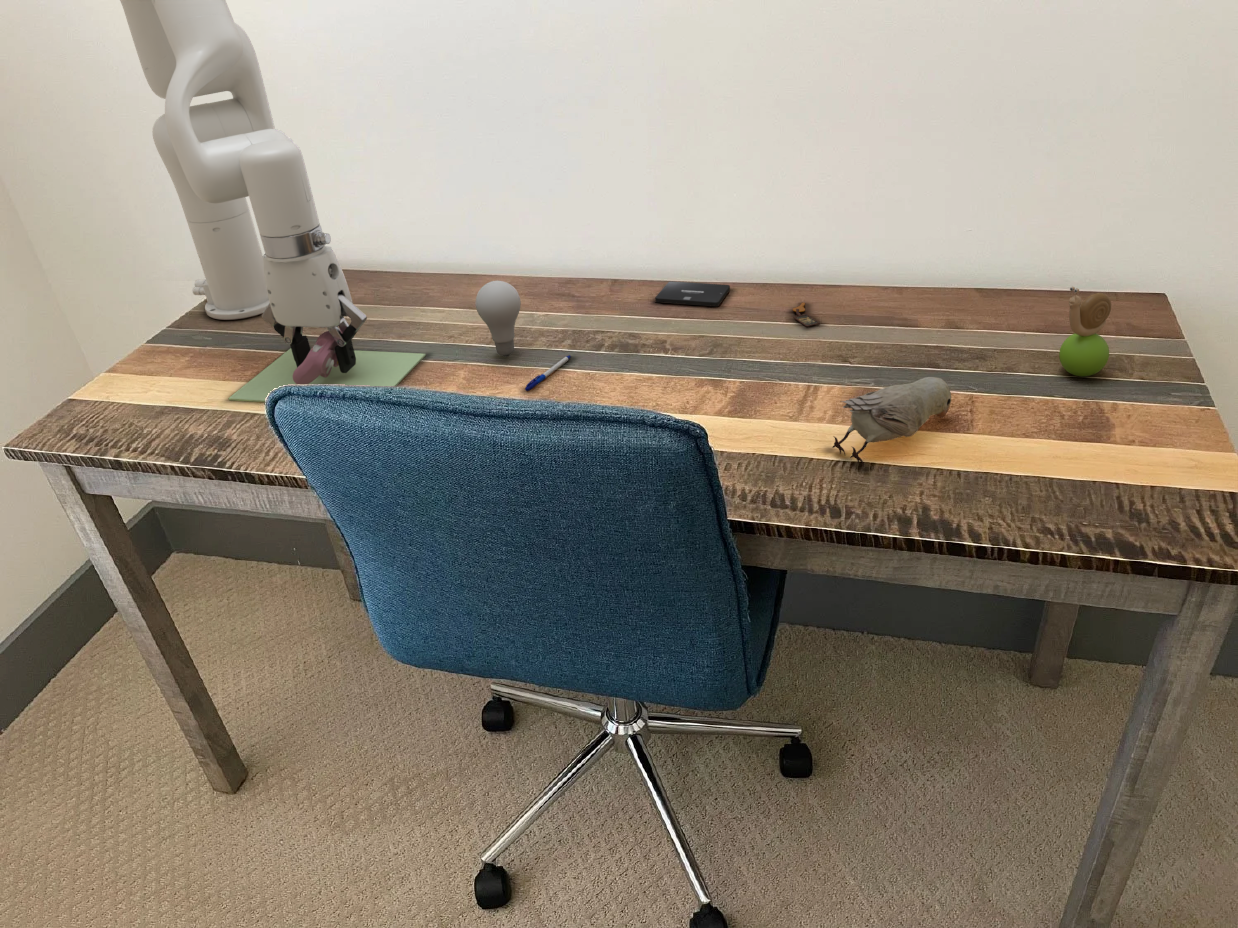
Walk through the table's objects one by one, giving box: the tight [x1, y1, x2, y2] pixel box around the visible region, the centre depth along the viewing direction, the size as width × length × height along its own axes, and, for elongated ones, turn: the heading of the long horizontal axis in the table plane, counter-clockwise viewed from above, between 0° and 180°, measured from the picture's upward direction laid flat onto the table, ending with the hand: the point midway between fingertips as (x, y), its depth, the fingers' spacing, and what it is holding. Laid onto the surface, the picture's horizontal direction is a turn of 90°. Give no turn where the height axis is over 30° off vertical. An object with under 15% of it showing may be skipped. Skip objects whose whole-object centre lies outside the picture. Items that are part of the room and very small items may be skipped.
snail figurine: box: [1058, 286, 1112, 378], centre depth 114 cm, size 5×6×12 cm
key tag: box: [792, 301, 821, 328], centre depth 138 cm, size 8×3×1 cm, turn 7°
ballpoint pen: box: [524, 354, 572, 392], centre depth 129 cm, size 10×1×1 cm, turn 151°
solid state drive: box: [654, 280, 731, 307], centre depth 148 cm, size 7×10×1 cm
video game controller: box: [293, 327, 342, 384], centre depth 132 cm, size 10×5×7 cm, turn 168°
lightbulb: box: [475, 280, 522, 358], centre depth 133 cm, size 6×6×11 cm
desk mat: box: [228, 347, 427, 403], centre depth 134 cm, size 22×16×1 cm
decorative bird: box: [831, 376, 952, 467], centre depth 106 cm, size 5×16×8 cm, turn 122°
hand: (327, 366), depth 133 cm, fingers closed on video game controller, 6 cm apart
